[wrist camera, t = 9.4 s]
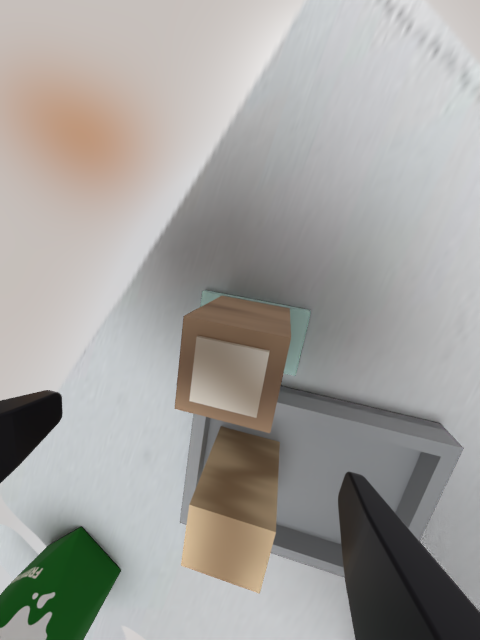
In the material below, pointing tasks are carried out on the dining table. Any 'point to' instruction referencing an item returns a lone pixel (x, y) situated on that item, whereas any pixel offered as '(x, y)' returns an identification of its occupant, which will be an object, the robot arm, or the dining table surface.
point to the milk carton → (58, 591)
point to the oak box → (234, 510)
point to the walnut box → (233, 361)
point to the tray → (337, 468)
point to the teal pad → (297, 321)
